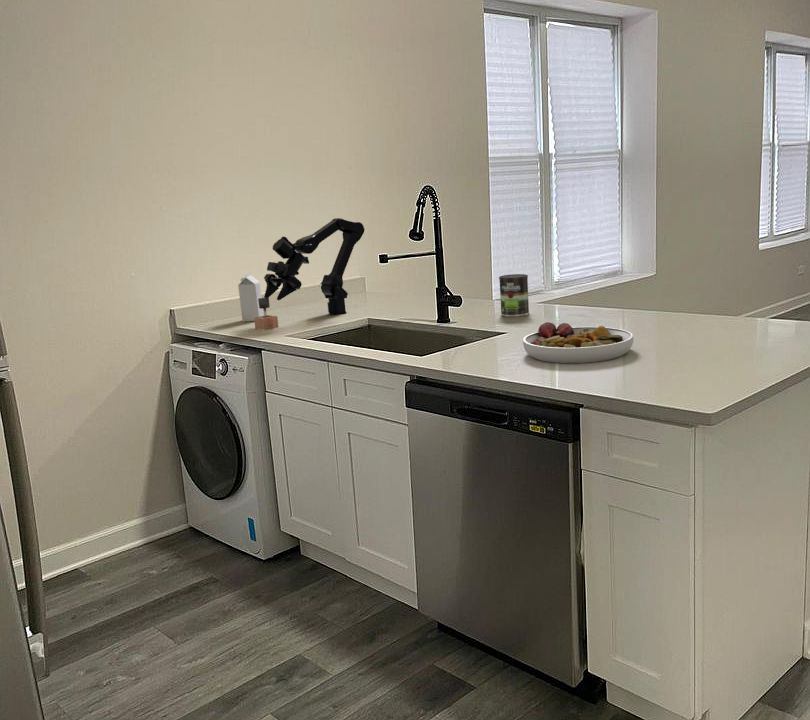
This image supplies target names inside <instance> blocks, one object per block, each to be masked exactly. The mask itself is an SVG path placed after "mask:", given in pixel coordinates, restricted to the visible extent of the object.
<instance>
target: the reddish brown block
mask: <svg viewBox="0 0 810 720" xmlns="http://www.w3.org/2000/svg"><path fill="white" fill-rule="evenodd" d="M278 318H279V317H278V315H272V314H267V318H264V316H259V317H254V321H253V322H254V328H255V329H257V328H258V329H257V330H263V329H265V330H269V328H270V329H274V327H275V328H278V327H279V320H278Z"/></svg>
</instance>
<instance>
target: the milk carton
mask: <svg viewBox="0 0 810 720" xmlns="http://www.w3.org/2000/svg"><path fill="white" fill-rule="evenodd" d="M237 289H238V296H239V303H240V304H239V305H240V311H241V321H242V323H243V322H246V321H247V322H254V317H259V316H264V310H263V309H260V308H259V302H258V299H259V298H263V296H262V289H261V282H260V281H259V280H258V279H257V278H255V277H254V276H253V275H252V274H251V272H249V273H246V274H245V276H243V277H241V278H240V283H239V284H238V288H237Z"/></svg>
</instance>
